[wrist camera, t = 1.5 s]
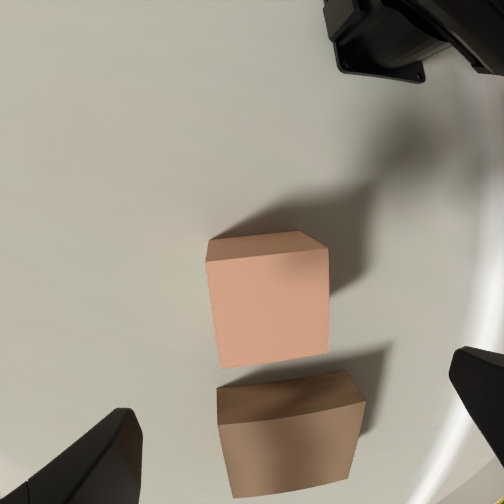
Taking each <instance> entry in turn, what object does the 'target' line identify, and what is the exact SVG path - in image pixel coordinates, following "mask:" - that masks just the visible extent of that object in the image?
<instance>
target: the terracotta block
mask: <svg viewBox="0 0 504 504" xmlns="http://www.w3.org/2000/svg"><path fill="white" fill-rule="evenodd" d="M205 263H206V271H207V279H208V286H209V293H210V300H211V307H212V314H213V321H214V327H215V334H216V340H217V347H218V353H219V359H220V365H221V369H223V368H232V367H241V366H249V365H257V364H264V363H271V362H278V361H284V360H291V359H297V358H302V357H308V356H314V355H319V354H324V353H328V349H329V255H328V248H327V247H325V246H324V245H322V244H320V243H319V242H317V241H315V240H314V239H312V238H310V237H309V236H307V235H305V234H303V233H302V232H300V231H289V232H279V233H269V234H260V235H250V236H241V237H231V238H222V239H213V240H209V243H208V249H207V255H206V261H205Z"/></svg>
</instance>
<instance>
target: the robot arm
mask: <svg viewBox="0 0 504 504" xmlns="http://www.w3.org/2000/svg"><path fill="white" fill-rule="evenodd" d="M324 4H325V6H324V8H323V13H324V17H325V22H326V27H327V32H328V37H329V39H330V41H331V42H332V43H333V47H334V52H335V57H336V63H337V67H338V69H339V70H340V71H341V72H342V73H345V74H354V75H364V76H372V77H379V78H386V79H393V80H399V81H405V82H410V83H415V84H421V83H423V82H425V73H424V69H423V64H422V61H423V60H425V59H427V58H429V57H431V56H433V55H435V54H437V53H439V52H441V51H443V50H445V49H447V48H449V47H451V46H453V47H454V48H456V49H457V50H458V51H459V52H460V53H461V54H462V55H463V56H464V57H465V58H466V59H467V60H468V61H469V62H470V63H471V66H472V67H473V68H474V69H475V70H476V71H477V73H482V74H493V75H501V76H504V0H324ZM343 63H346V64H347V65H348V68H346V67H345V66H344V65H343ZM417 75H418V76H419V78H418V77H417ZM449 379H450V381H451V383H452V384H453V386H454V388H455V390H456V391H457V393H458V395H459V397H460V398H461V400H462V402H463V404H464V406H465V408H466V409H467V411H468V413H469V415H470V416H471V418H472V419H473V421H474V422H475V424H476V425H477V427H478V428H479V430H480V431H481V433H482V434H483V436H484V437H485V439H486V440H487V442H488V443H489V445H490V447H491V448H492V450H493V451H494V453H495V455H496V456H497V458H498V459H499V461H500V463H501V464H502V466H503V467H504V354H499V353H495V352H490V351H486V350H482V349H477V348H473V347H468V346H464V347H462V348H459V349H457V350H456V351H455V352H454V354H453V358H452V362H451V366H450V370H449ZM142 445H143V434H142V430H141V427H140V425H139V423H138V420H137V418H136V416H135V413H134V411H133V410H132V409H131V408H116V409H114V410H113V411H112V412H111V413H110V414H108V415H107V416H106V417H105V418H104V419H102V420H101V421H100V422H99V423H98V424H96V425H95V426H94V427H93V428H92V429H90V430H89V431H88V432H87V433H85V434H84V435H83V436H82V437H81V438H79V439H78V440H77V441H76V442H74V443H73V444H72V445H71V446H70V447H68V448H67V449H66V450H65V451H63V452H62V453H61V454H60V455H58V456H57V457H56V458H55V459H53V460H52V461H51V462H50V463H48V464H47V465H46V466H45V467H43V468H42V469H41V470H40V471H38V472H37V473H36V474H34V475H33V476H32V477H31V478H29V479H28V482H27V481H25V482H24V483H23V484H21V485H20V486H19V487H18V488H16V489H15V490H13V491H12V492H11V493H9V494H8V495H6V496H5V497H4V498H2V499H0V504H138V503H139V496H140V489H141V469H142Z"/></svg>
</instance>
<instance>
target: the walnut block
mask: <svg viewBox="0 0 504 504" xmlns="http://www.w3.org/2000/svg"><path fill="white" fill-rule="evenodd" d="M365 405H366V399H365V398H364V396H363V395H362V393H361V392H360V390H359V389H358V388H357V386H356V385H355V383H354V382H353V380H352V379H351V377H350V376H349V374H348V373H347V371H346V370H344V371H339V372H334V373H329V374H324V375H318V376H312V377H306V378H300V379H294V380H287V381H280V382H272V383H264V384H256V385H246V386H236V387H224V388H217V423H218V430H219V435H220V440H221V445H222V450H223V455H224V459H225V464H226V469H227V473H228V478H229V482H230V487H231V491H232V495H233V498H244V497H254V496H263V495H270V494H277V493H284V492H290V491H295V490H301V489H306V488H311V487H315V486H320V485H324V484H328V483H333V482H336V481H340V480H344V479H347V478H348V475H349V472H350V468H351V464H352V461H353V457H354V453H355V449H356V445H357V441H358V437H359V433H360V429H361V424H362V420H363V415H364V410H365Z"/></svg>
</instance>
